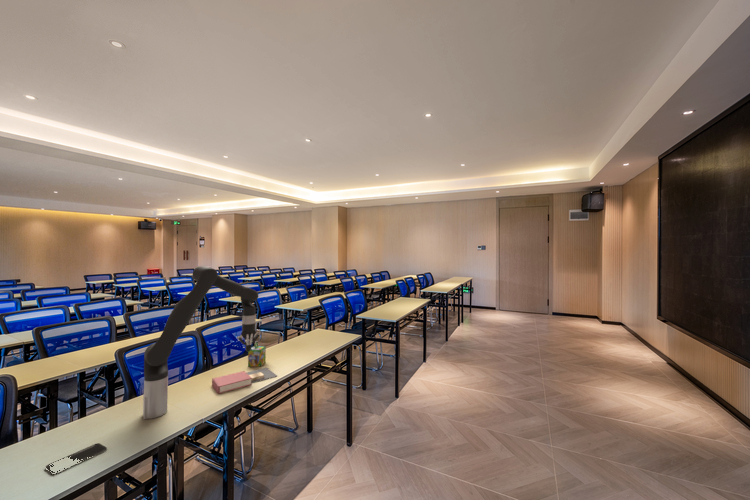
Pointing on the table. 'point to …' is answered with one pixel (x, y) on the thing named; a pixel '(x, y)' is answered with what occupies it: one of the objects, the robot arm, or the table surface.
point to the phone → (84, 453)
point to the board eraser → (256, 376)
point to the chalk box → (256, 356)
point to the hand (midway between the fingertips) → (248, 350)
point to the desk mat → (265, 371)
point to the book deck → (231, 382)
